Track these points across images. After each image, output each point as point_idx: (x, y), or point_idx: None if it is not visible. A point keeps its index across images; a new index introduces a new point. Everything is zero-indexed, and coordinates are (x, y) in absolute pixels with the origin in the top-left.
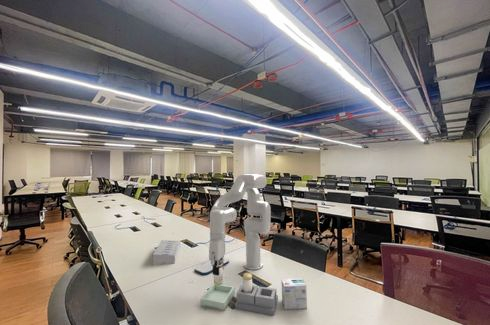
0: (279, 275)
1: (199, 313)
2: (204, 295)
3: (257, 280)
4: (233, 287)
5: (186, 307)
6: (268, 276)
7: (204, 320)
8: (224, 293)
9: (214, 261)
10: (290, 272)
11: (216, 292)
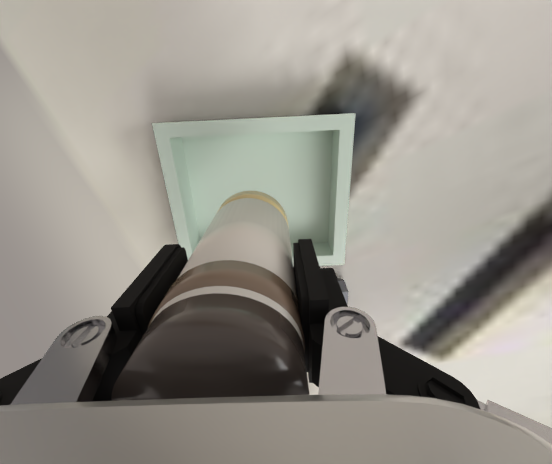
0: (521, 373)
1: (122, 147)
2: (194, 127)
3: (473, 305)
4: (335, 260)
5: (118, 29)
6: (514, 338)
7: (99, 198)
8: (307, 206)
9: (123, 383)
10: (546, 402)
11: (303, 156)
